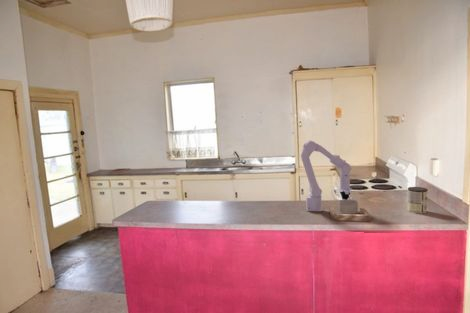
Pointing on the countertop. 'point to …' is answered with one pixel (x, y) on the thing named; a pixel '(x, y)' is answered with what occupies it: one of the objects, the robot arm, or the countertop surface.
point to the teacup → (348, 206)
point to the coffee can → (417, 200)
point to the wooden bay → (351, 215)
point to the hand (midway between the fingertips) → (344, 203)
